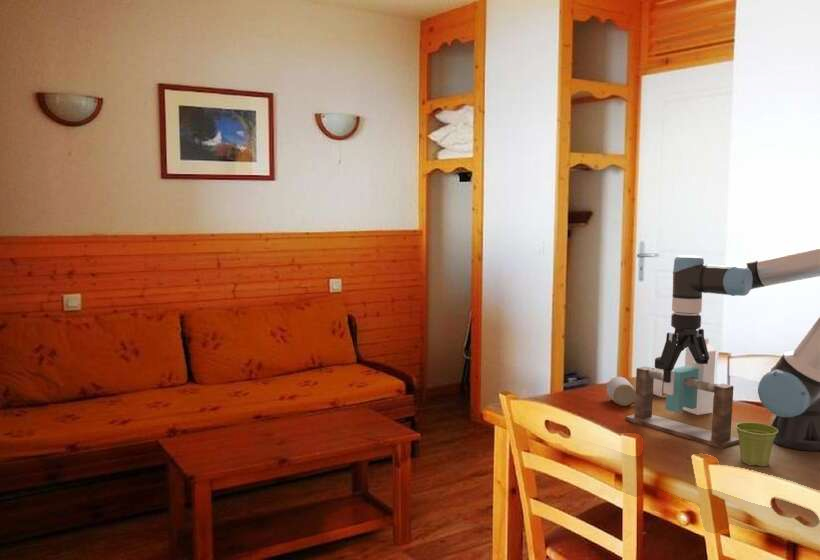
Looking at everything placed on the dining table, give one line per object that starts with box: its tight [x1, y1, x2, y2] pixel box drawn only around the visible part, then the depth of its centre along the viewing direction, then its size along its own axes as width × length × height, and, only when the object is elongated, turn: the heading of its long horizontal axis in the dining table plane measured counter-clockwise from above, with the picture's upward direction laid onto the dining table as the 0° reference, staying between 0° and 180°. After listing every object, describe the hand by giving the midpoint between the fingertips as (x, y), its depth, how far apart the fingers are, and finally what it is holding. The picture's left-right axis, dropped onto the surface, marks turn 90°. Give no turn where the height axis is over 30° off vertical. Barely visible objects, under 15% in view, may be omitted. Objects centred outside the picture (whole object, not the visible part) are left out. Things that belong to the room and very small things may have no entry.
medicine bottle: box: [653, 356, 675, 398], centre depth 244 cm, size 7×7×12 cm
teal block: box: [665, 365, 699, 414], centre depth 205 cm, size 8×4×11 cm, turn 127°
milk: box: [683, 338, 717, 416], centre depth 224 cm, size 6×6×22 cm
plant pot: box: [735, 421, 778, 467], centre depth 182 cm, size 9×9×9 cm
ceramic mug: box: [606, 376, 636, 407], centre depth 233 cm, size 11×8×8 cm
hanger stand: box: [625, 365, 739, 449], centre depth 205 cm, size 30×8×15 cm, turn 37°
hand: (683, 390), depth 205 cm, fingers open, 13 cm apart
